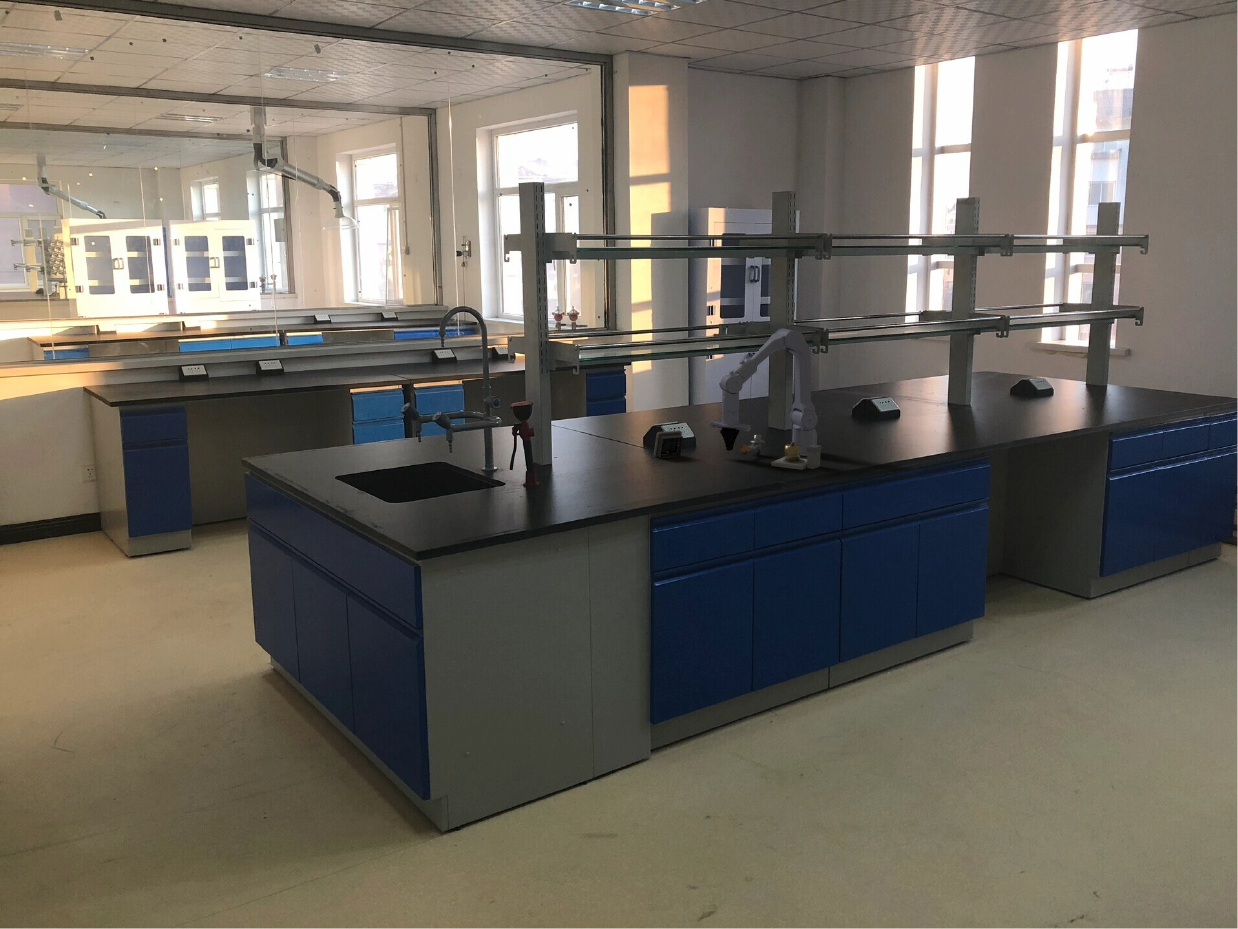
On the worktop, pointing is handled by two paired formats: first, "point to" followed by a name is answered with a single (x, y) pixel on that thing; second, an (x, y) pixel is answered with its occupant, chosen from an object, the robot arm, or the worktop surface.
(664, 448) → the electrical switch
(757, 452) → the pivot post
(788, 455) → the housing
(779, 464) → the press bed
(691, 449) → the worktop surface
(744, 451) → the lever
